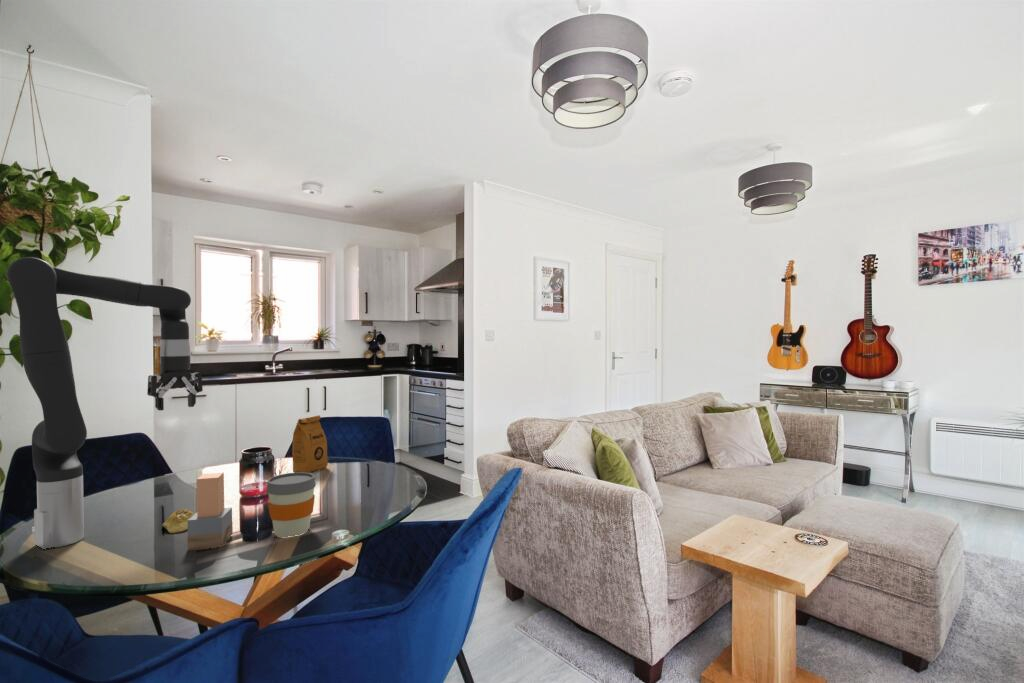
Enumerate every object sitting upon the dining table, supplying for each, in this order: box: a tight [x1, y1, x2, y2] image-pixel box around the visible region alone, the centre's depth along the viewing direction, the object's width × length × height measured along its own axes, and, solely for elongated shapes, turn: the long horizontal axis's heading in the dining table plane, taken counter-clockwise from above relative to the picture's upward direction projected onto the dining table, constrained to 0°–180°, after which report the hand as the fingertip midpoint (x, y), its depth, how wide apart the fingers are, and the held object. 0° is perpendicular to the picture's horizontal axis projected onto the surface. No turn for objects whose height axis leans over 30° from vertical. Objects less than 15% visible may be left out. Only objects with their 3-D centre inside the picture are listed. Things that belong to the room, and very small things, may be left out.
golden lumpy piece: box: [162, 509, 195, 534], centre depth 146 cm, size 11×6×10 cm
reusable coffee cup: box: [266, 472, 316, 537], centre depth 141 cm, size 13×12×15 cm
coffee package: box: [291, 414, 328, 473], centre depth 205 cm, size 10×12×22 cm
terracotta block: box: [196, 472, 225, 518], centre depth 134 cm, size 5×5×10 cm
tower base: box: [187, 522, 234, 551], centre depth 134 cm, size 8×8×4 cm
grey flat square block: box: [187, 506, 233, 537], centre depth 134 cm, size 8×8×4 cm
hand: (176, 408), depth 152 cm, fingers open, 8 cm apart
